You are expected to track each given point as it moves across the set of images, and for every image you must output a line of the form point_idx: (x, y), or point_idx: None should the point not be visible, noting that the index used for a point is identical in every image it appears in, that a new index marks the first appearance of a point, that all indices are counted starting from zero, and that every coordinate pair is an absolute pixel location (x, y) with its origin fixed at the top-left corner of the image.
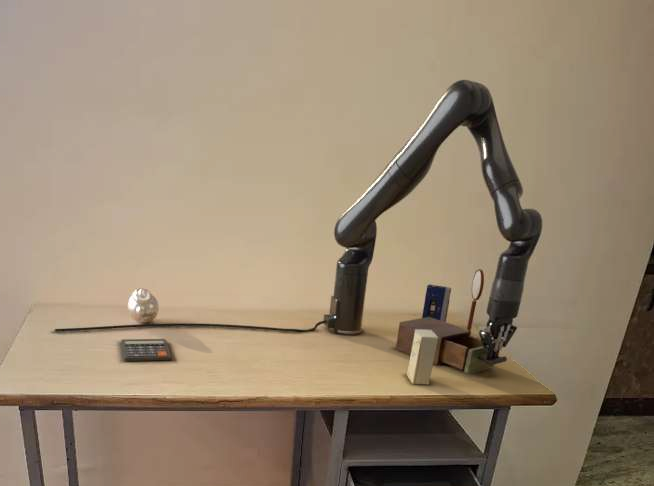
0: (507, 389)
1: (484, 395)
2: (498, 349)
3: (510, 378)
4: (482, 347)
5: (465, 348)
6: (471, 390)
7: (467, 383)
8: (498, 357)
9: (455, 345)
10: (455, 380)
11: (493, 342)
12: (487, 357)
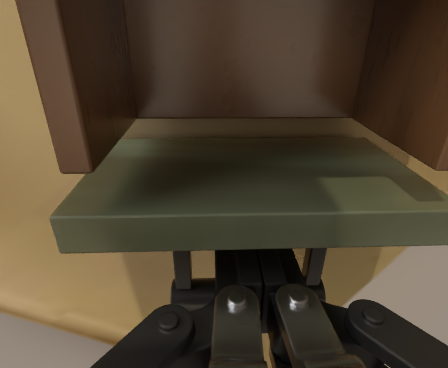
0: None
1: (37, 319)
2: (270, 345)
3: (303, 260)
4: (230, 238)
5: (59, 161)
6: (16, 273)
7: None
8: (305, 270)
9: (21, 4)
10: (16, 164)
11: (285, 345)
12: (216, 258)
